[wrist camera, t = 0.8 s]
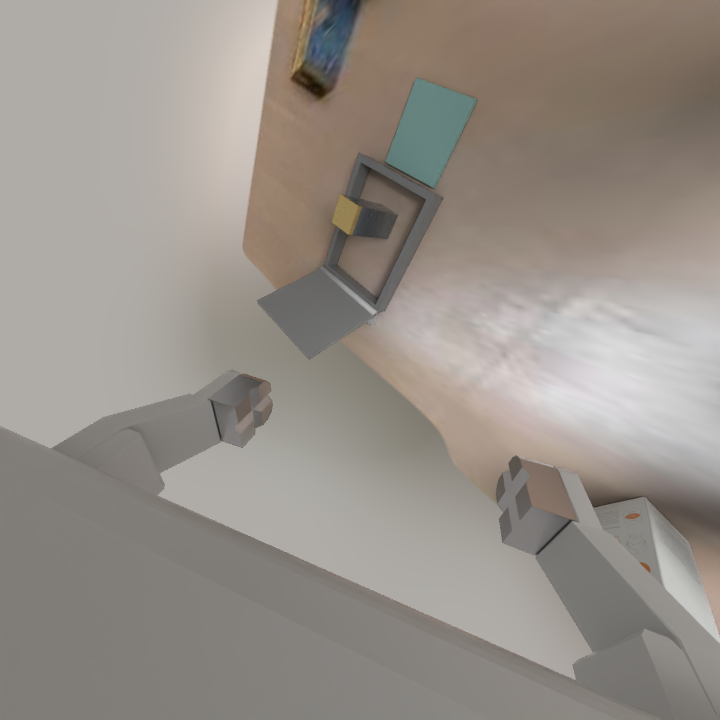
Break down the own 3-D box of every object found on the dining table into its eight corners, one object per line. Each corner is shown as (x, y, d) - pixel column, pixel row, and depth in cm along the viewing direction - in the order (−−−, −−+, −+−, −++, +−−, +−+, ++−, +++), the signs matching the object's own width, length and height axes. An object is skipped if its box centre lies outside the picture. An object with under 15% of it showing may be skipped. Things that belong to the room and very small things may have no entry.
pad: (417, 79, 37) (416, 77, 37) (477, 100, 33) (476, 98, 33) (386, 162, 43) (385, 161, 43) (434, 188, 39) (433, 188, 39)
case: (368, 157, 45) (285, 120, 33) (443, 197, 39) (374, 170, 27) (322, 295, 61) (256, 303, 49) (370, 339, 55) (307, 360, 43)
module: (381, 204, 45) (339, 193, 38) (398, 215, 44) (358, 206, 37) (372, 228, 48) (331, 222, 41) (387, 238, 46) (348, 234, 39)
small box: (616, 551, 36) (620, 651, 27) (578, 509, 38) (570, 589, 29) (692, 543, 31) (731, 664, 22) (645, 494, 33) (662, 587, 23)
